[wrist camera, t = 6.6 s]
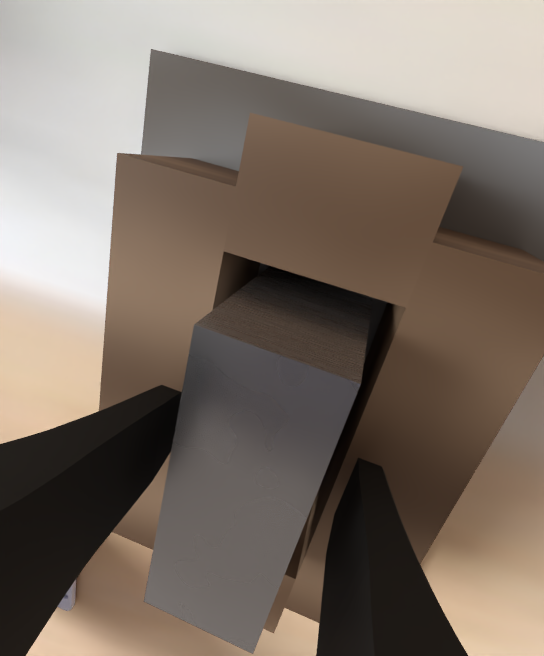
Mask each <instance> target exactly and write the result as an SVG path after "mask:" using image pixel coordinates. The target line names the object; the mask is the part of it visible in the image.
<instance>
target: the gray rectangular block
mask: <svg viewBox="0 0 544 656" xmlns="http://www.w3.org/2000/svg"><path fill="white" fill-rule="evenodd" d="M372 302H373V297H369V296H366V295H363V294H360V293H357V292H353V291H350V290H347V289H344V288H340V287H337V286H334V285H331V284H328V283H324V282H321V281H318V280H315V279H311V278H308V277H305V276H302V275H299V274H295V273H292V272H289V271H286V270H282V269H279V268H276V267H273V266H269V267H268V268H267V269H265V270H264V271H263V272H262V273H260V274H259V275H258V276H256V277H255V278H254V279H252V280H251V281H250V282H249V283H247V284H246V285H245V286H243V287H242V288H241V289H240V290H238V291H237V292H236V293H234V294H233V295H232V296H230V297H229V298H228V299H227V300H225V301H224V302H223V303H221V304H220V305H219V306H217V307H216V308H215V309H214V310H212V311H211V312H210V313H208V314H207V315H206V316H204V317H203V318H202V319H201V320H199V321H198V322H197V323H195V324H194V328H193V333H192V339H191V344H190V350H189V355H188V361H187V366H186V372H185V377H184V383H183V388H182V394H181V399H180V405H179V410H178V416H177V421H176V427H175V433H174V438H173V444H172V449H171V455H170V460H169V466H168V471H167V477H166V482H165V488H164V493H163V499H162V504H161V510H160V515H159V521H158V526H157V532H156V537H155V543H154V548H153V554H152V559H151V565H150V571H149V576H148V582H147V587H146V593H145V598H144V602H146V603H148V604H150V605H152V606H154V607H156V608H158V609H160V610H163V611H165V612H167V613H169V614H171V615H173V616H175V617H177V618H179V619H181V620H183V621H185V622H187V623H190V624H192V625H194V626H196V627H198V628H200V629H202V630H204V631H206V632H208V633H210V634H212V635H215V636H217V637H219V638H221V639H223V640H225V641H227V642H229V643H231V644H233V645H235V646H237V647H239V648H242V649H244V650H246V651H248V652H250V653H252V654H253V652H254V650H255V647H256V645H257V642H258V640H259V637H260V635H261V632H262V630H263V627H264V625H265V622H266V620H267V617H268V615H269V612H270V610H271V607H272V605H273V602H274V600H275V597H276V595H277V592H278V590H279V587H280V585H281V582H282V580H283V577H284V575H285V572H286V570H287V567H288V565H289V562H290V560H291V557H292V555H293V552H294V550H295V547H296V545H297V542H298V540H299V537H300V535H301V532H302V530H303V527H304V525H305V522H306V520H307V517H308V515H309V512H310V510H311V507H312V505H313V502H314V500H315V497H316V495H317V492H318V490H319V487H320V485H321V482H322V480H323V477H324V475H325V472H326V470H327V467H328V465H329V462H330V460H331V457H332V455H333V452H334V450H335V447H336V445H337V442H338V440H339V437H340V435H341V432H342V430H343V427H344V425H345V422H346V420H347V417H348V415H349V412H350V410H351V407H352V405H353V402H354V400H355V397H356V395H357V392H358V390H359V387H360V385H361V379H362V372H363V365H364V358H365V351H366V344H367V337H368V330H369V323H370V316H371V309H372Z"/></svg>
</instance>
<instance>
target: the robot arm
mask: <svg viewBox="0 0 544 656" xmlns="http://www.w3.org/2000/svg"><path fill="white" fill-rule="evenodd" d="M181 394H182V392H180V391H177V390H175V389H172V388H169V387H167V386H164V385H160V386H157V387H155V388H152V389H150V390H148V391H145V392H143V393H141V394H138V395H136V396H134V397H132V398H129V399H127V400H125V401H122V402H120V403H118V404H115V405H113V406H110V407H108V408H106V409H103V410H101V411H98V412H96V413H94V414H91V415H88V416H86V417H83V418H80V419H77V420H75V421H72V422H69V423H67V424H64V425H61V426H58V427H56V428H53V429H50V430H47V431H44V432H41V433H37V434H34V435H31V436H28V437H24V438H21V439H17V440H14V441H10V442H6V443H3V444H0V656H26V654H27V653H28V651H29V649H30V648H31V646H32V645H33V643H34V642H35V640H36V639H37V637H38V636H39V634H40V632H41V631H42V629H43V628H44V626H45V625H46V623H47V622H48V620H49V619H50V617H51V616H52V614H53V612H54V611H55V609H56V608H57V607H59V608H61V609H63V610H66V611H69V610H71V609H72V608H73V606H74V605H75V593H76V578H77V577H78V575H79V574H80V572H81V571H82V569H83V568H84V567H85V565H86V564H87V563H88V561H89V560H90V559H91V557H92V556H93V555H94V553H95V552H96V551H97V549H98V548H99V547H100V546H101V544H102V543H103V542H104V541H105V539H106V538H107V537H108V536H109V535H110V533H111V532H112V531H113V530H114V528H115V527H116V526H117V525H118V523H119V522H120V521H121V520H122V519H123V517H124V516H125V515H126V514H127V512H128V511H129V510H130V509H131V507H132V506H133V505H134V504H135V502H136V501H137V500H138V499H139V497H140V496H141V495H142V494H143V492H144V491H145V490H146V489H147V487H148V486H149V485H150V484H151V482H152V481H153V479H154V478H155V476H156V475H157V473H158V472H159V470H160V468H161V467H162V465H163V464H164V462H165V460H166V459H167V457H168V455H169V454H170V452H171V449H172V444H173V438H174V433H175V427H176V421H177V416H178V410H179V405H180V399H181ZM316 656H468V655H467V653H466V651H465V650H464V648H463V646H462V645H461V643H460V641H459V639H458V638H457V636H456V634H455V632H454V630H453V629H452V627H451V625H450V623H449V621H448V620H447V618H446V616H445V614H444V612H443V610H442V608H441V606H440V605H439V603H438V601H437V599H436V597H435V595H434V593H433V591H432V589H431V587H430V584H429V582H428V580H427V578H426V576H425V574H424V572H423V570H422V568H421V565H420V563H419V561H418V559H417V556H416V554H415V552H414V550H413V547H412V545H411V542H410V540H409V538H408V535H407V533H406V530H405V528H404V525H403V523H402V520H401V518H400V515H399V512H398V510H397V507H396V504H395V501H394V499H393V496H392V493H391V490H390V487H389V484H388V481H387V478H386V475H385V472H384V470H383V468H382V466H379V465H377V464H374V463H371V462H369V461H366V460H363V459H361V458H358V459H357V462H356V464H355V466H354V469H353V471H352V473H351V476H350V478H349V481H348V483H347V485H346V488H345V490H344V492H343V495H342V497H341V499H340V502H339V504H338V506H337V509H336V511H335V514H334V518H333V522H332V527H331V532H330V537H329V542H328V547H327V552H326V560H325V570H324V581H323V591H322V602H321V613H320V623H319V634H318V645H317V654H316Z"/></svg>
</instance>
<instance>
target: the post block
mask: <svg viewBox="0 0 544 656" xmlns="http://www.w3.org/2000/svg"><path fill="white" fill-rule="evenodd" d="M269 266H273V267H276V268H279V269H282V270H286V271H289V272H292V273H295V274H299V275H302V276H305V277H308V278H311V279H315V280H318V281H321V282H324V283H328V284H331V285H334V286H337V287H340V288H344V289H347V290H350V291H353V292H357V293H360V294H363V295H366V296H369V297H373V302H372V309H371V316H370V323H369V330H368V337H367V344H366V351H365V358H364V365H363V372H362V379H361V385H360V387H359V390H358V392H357V395H356V397H355V400H354V402H353V405H352V407H351V410H350V412H349V415H348V417H347V420H346V422H345V425H344V427H343V430H342V432H341V435H340V437H339V440H338V442H337V445H336V447H335V450H334V452H333V455H332V457H331V460H330V462H329V465H328V467H327V470H326V472H325V475H324V477H323V480H322V482H321V485H320V487H319V490H318V492H317V495H316V497H315V500H314V502H313V505H312V507H311V510H310V512H309V515H308V517H307V520H306V522H305V525H304V527H303V530H302V532H301V535H300V537H299V540H298V542H297V545H296V547H295V550H294V552H293V555H292V557H291V560H290V562H289V565H288V567H287V570H286V572H285V575H284V577H283V580H282V582H281V585H280V587H279V590H278V592H277V595H276V597H275V600H274V602H273V605H272V607H271V610H270V612H269V615H268V617H267V620H266V622H265V625H264V627H263V629H266V630H268V631H270V632H272V633H274V631H275V629H276V627H277V624H278V622H279V619H280V617H281V614H282V612H283V609H284V608H287V609H289V610H291V611H293V612H296V613H298V614H300V615H303V616H305V617H307V618H309V619H312V620H314V621H316V622H318V623H320V613H321V602H322V591H323V581H324V570H325V560H326V552H327V547H328V542H329V537H330V532H331V527H332V522H333V518H334V514H335V511H336V509H337V506H338V504H339V502H340V499H341V497H342V495H343V492H344V490H345V488H346V485H347V483H348V481H349V478H350V476H351V473H352V471H353V469H354V466H355V464H356V462H357V459H358V458H361V459H363V460H366V461H369V462H371V463H374V464H377V465H379V466H382V468H383V470H384V472H385V475H386V478H387V481H388V484H389V487H390V490H391V493H392V496H393V499H394V501H395V504H396V507H397V510H398V512H399V515H400V518H401V520H402V523H403V525H404V528H405V530H406V533H407V535H408V538H409V540H410V542H411V545H412V547H413V550H414V552H415V554H416V556H417V559H418V561H419V563H421V562H422V560H423V558H424V556H425V555H426V553H427V551H428V550H429V548H430V546H431V545H432V543H433V541H434V540H435V538H436V536H437V535H438V533H439V531H440V529H441V528H442V526H443V524H444V523H445V521H446V519H447V518H448V516H449V514H450V513H451V511H452V509H453V508H454V506H455V504H456V502H457V501H458V499H459V497H460V496H461V494H462V492H463V491H464V489H465V487H466V486H467V484H468V482H469V481H470V479H471V477H472V475H473V474H474V472H475V470H476V469H477V467H478V465H479V464H480V462H481V460H482V459H483V457H484V455H485V453H486V452H487V450H488V448H489V447H490V445H491V443H492V442H493V440H494V438H495V437H496V435H497V433H498V432H499V430H500V428H501V426H502V425H503V423H504V421H505V420H506V418H507V416H508V415H509V413H510V411H511V410H512V408H513V406H514V405H515V403H516V401H517V399H518V398H519V396H520V394H521V393H522V391H523V389H524V388H525V386H526V384H527V383H528V381H529V379H530V378H531V376H532V374H533V372H534V371H535V369H536V367H537V366H538V364H539V362H540V361H541V359H542V357H543V356H544V142H541V141H536V140H532V139H528V138H524V137H520V136H515V135H511V134H507V133H503V132H499V131H494V130H490V129H486V128H482V127H477V126H473V125H469V124H465V123H461V122H456V121H452V120H448V119H444V118H440V117H435V116H431V115H427V114H423V113H418V112H414V111H410V110H406V109H402V108H397V107H393V106H389V105H385V104H381V103H376V102H372V101H368V100H364V99H359V98H355V97H351V96H347V95H343V94H338V93H334V92H330V91H326V90H322V89H317V88H313V87H309V86H305V85H300V84H296V83H292V82H288V81H284V80H279V79H275V78H271V77H267V76H263V75H258V74H254V73H250V72H246V71H241V70H237V69H233V68H229V67H225V66H220V65H216V64H212V63H208V62H204V61H199V60H195V59H191V58H187V57H182V56H178V55H174V54H170V53H166V52H161V51H157V50H153V49H151V55H150V66H149V76H148V87H147V98H146V108H145V119H144V130H143V141H142V151H141V155H138V154H124V153H117V163H116V177H115V191H114V206H113V220H112V234H111V248H110V262H109V277H108V291H107V305H106V319H105V334H104V348H103V362H102V376H101V391H100V405H99V411H101V410H103V409H106V408H108V407H110V406H113V405H115V404H118V403H120V402H122V401H125V400H127V399H129V398H132V397H134V396H136V395H138V394H141V393H143V392H145V391H148V390H150V389H152V388H155V387H157V386H160V385H164V386H167V387H169V388H172V389H175V390H177V391H180V392H182V388H183V383H184V377H185V372H186V366H187V361H188V355H189V350H190V344H191V339H192V333H193V328H194V324H195V323H197V322H198V321H199V320H201V319H202V318H203V317H204V316H206V315H207V314H208V313H210V312H211V311H212V310H214V309H215V308H216V307H217V306H219V305H220V304H221V303H223V302H224V301H225V300H227V299H228V298H229V297H230V296H232V295H233V294H234V293H236V292H237V291H238V290H240V289H241V288H242V287H243V286H245V285H246V284H247V283H249V282H250V281H251V280H252V279H254V278H255V277H256V276H258V275H259V274H260V273H262V272H263V271H264V270H265V269H267V268H268V267H269ZM170 455H171V452H170V454H169V455H168V457H167V459H166V460H165V462H164V464H163V465H162V467H161V468H160V470H159V472H158V473H157V475H156V476H155V478H154V479H153V481H152V482H151V484H150V485H149V486H148V487H147V489H146V490H145V491H144V492H143V494H142V495H141V496H140V497H139V499H138V500H137V501H136V502H135V504H134V505H133V506H132V507H131V509H130V510H129V511H128V512H127V514H126V515H125V516H124V517H123V519H122V520H121V521H120V522H119V523H118V525H117V526H116V527H115V528H114V530H113V531H112V532H114V533H116V534H118V535H120V536H123V537H125V538H127V539H130V540H132V541H134V542H136V543H139V544H141V545H143V546H146V547H148V548H150V549H152V550H153V548H154V543H155V537H156V532H157V526H158V521H159V515H160V510H161V504H162V499H163V493H164V488H165V482H166V477H167V471H168V466H169V460H170Z"/></svg>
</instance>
